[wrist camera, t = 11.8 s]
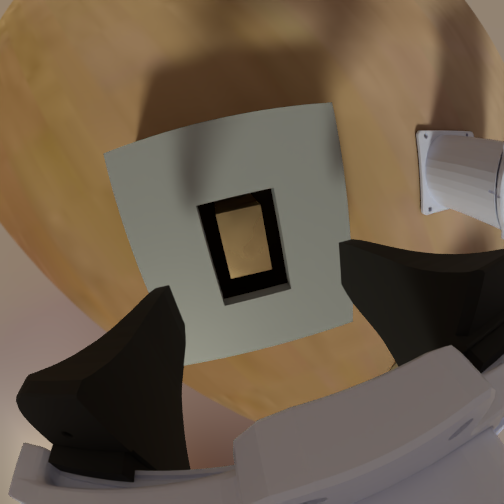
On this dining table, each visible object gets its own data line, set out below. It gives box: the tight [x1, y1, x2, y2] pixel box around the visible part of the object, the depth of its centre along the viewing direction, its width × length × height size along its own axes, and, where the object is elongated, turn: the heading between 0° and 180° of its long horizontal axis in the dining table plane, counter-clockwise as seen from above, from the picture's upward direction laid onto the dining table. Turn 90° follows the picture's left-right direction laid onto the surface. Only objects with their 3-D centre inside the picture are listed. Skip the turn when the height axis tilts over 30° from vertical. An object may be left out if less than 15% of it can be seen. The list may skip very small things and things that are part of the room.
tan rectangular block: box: [215, 193, 272, 279], centre depth 18 cm, size 2×4×5 cm, turn 11°
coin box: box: [104, 102, 353, 365], centre depth 17 cm, size 12×14×6 cm
